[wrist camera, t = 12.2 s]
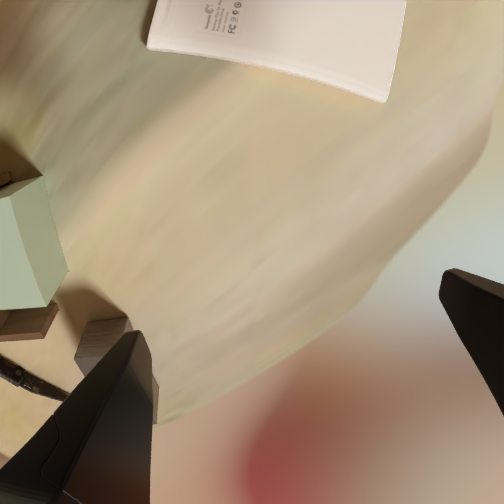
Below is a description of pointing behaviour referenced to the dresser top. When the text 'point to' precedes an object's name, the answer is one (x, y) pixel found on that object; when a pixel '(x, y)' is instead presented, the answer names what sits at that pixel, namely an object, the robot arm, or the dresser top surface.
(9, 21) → the dresser top surface
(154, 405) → the dark gray rectangular block
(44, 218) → the sage block
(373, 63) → the external hard drive
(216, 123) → the dresser top surface
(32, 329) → the frame
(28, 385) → the folding knife
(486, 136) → the dresser top surface
